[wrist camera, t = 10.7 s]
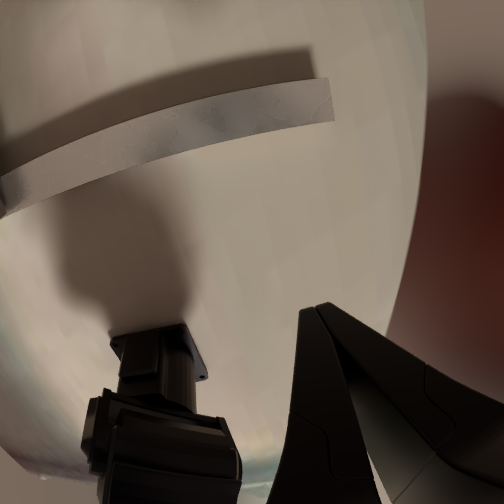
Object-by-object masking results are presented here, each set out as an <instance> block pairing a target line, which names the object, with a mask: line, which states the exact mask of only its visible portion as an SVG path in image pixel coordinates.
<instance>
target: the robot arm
mask: <svg viewBox="0 0 504 504" xmlns="http://www.w3.org/2000/svg"><path fill="white" fill-rule="evenodd" d="M178 330H182V331H178ZM116 343H117V344H116ZM110 346H111V348H112V349H113V351H114V352H115V354H116V355H117V357H118V358H119V360H120V361H121V363H120V369H119V374H118V375H119V382H118V388H117V393H115V392H112V391H111V390H109V389H106V388H104V389H103V392H102V396H98V397H96V398H90V401H89V405H88V410H87V415H86V420H85V425H84V430H83V436H82V442H81V450H82V451H83V452H84V454H85V455H86V457H87V464H89V475H91V476H95V477H98V486H97V497H98V500H99V503H100V504H237V498H238V494H239V491H240V488H241V484H242V481H241V480H242V461H241V457H240V455H239V452H238V450H237V448H236V445H235V443H234V440H233V438H232V436H231V433H230V431H229V428H228V426H227V423H226V421H225V418H222V417H211V416H205V415H200V414H197V408H196V383H195V382H198V381H203V380H206V379H208V372H207V370H206V368H205V366H204V364H203V362H202V360H201V357H200V355H199V353H198V351H197V349H196V347H195V345H194V342H193V340H192V338H191V336H190V334H189V331H188V329H187V327H186V326H185V325H183V324H176V325H172V326H167V327H162V328H158V329H153V330H148V331H143V332H138V333H133V334H128V335H122V336H117V337H113V338H111V340H110ZM289 411H290V413H289V417H288V426H287V432H286V438H285V443H284V448H283V452H282V456H281V459H280V463H279V467H278V470H277V473H276V476H275V479H274V482H273V485H272V488H271V491H270V494H269V497H268V500H267V503H266V504H382V503H381V500H380V497H379V494H378V491H377V488H376V484H375V481H374V476H373V473H372V469H371V465H370V461H369V458H368V454H369V456H370V458H371V460H372V462H373V465H374V467H375V469H376V471H377V473H378V475H379V477H380V479H381V482H382V483H383V486H384V488H385V490H386V492H387V494H388V496H389V498H390V501H391V503H393V504H504V404H503V403H501V402H499V401H497V400H495V399H493V398H490V397H488V396H486V395H484V394H482V393H480V392H478V391H476V390H473V389H471V388H469V387H467V386H465V385H463V384H461V383H460V382H458V381H455V380H454V379H452V378H450V377H449V376H447V375H445V374H443V373H442V372H440V371H438V370H437V369H435V368H434V367H432V366H431V365H429V364H426V363H425V362H424V361H422V360H421V359H419V358H417V357H416V356H414V355H413V354H411V353H410V352H408V351H407V350H405V349H403V348H402V347H400V346H399V345H397V344H395V343H394V342H392V341H391V340H389V339H388V338H386V337H384V336H383V335H381V334H380V333H378V332H376V331H375V330H373V329H372V328H370V327H368V326H367V325H365V324H364V323H362V322H361V321H359V320H357V319H356V318H354V317H353V316H351V315H349V314H348V313H346V312H345V311H343V310H342V309H340V308H338V307H337V306H335V305H334V304H332V303H330V302H326V303H323V304H319V305H316V306H315V308H314V307H308V308H305V309H301V310H300V311H299V318H298V330H297V342H296V353H295V363H294V374H293V383H292V393H291V402H290V410H289ZM367 452H368V454H367Z"/></svg>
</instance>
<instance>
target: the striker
mask: <svg viewBox="0 0 504 504" xmlns="http://www.w3.org/2000/svg"><path fill="white" fill-rule="evenodd" d="M6 214H7V213H6V211H5V208H4V206H3V203H2V201H1V198H0V219H1V218H2V217H3V216H5V215H6Z"/></svg>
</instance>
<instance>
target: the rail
mask: <svg viewBox="0 0 504 504" xmlns="http://www.w3.org/2000/svg"><path fill="white" fill-rule="evenodd" d="M328 121H335V118H334V111H333V104H332V97H331V91H330V85H329V79H328V78H316V79H307V80H299V81H291V82H284V83H278V84H272V85H266V86H260V87H254V88H249V89H244V90H239V91H234V92H229V93H224V94H220V95H215V96H211V97H207V98H203V99H199V100H195V101H191V102H187V103H183V104H180V105H176V106H172V107H169V108H165V109H162V110H159V111H155V112H152V113H149V114H146V115H143V116H140V117H137V118H134V119H131V120H128V121H125V122H122V123H119V124H116V125H113V126H111V127H108V128H105V129H103V130H100V131H97V132H95V133H92V134H90V135H87V136H85V137H82V138H80V139H77V140H75V141H73V142H70V143H68V144H66V145H63V146H61V147H59V148H57V149H54V150H52V151H50V152H48V153H46V154H44V155H41V156H39V157H37V158H35V159H33V160H31V161H29V162H27V163H25V164H23V165H21V166H19V167H17V168H15V169H14V170H12V171H10V172H8V173H6V174H4V175H2V176H1V177H0V198H1V201H2V203H3V206H4V208H5V211H6V213H7V214H6V215H5V216H3V217H2V218H4V217H6V216H8V215H10V214H12V213H14V212H17V211H19V210H21V209H23V208H26V207H28V206H30V205H32V204H35V203H37V202H39V201H42V200H44V199H46V198H49V197H51V196H54V195H56V194H59V193H61V192H64V191H66V190H69V189H71V188H74V187H77V186H79V185H82V184H85V183H87V182H90V181H93V180H95V179H98V178H101V177H104V176H107V175H110V174H113V173H115V172H118V171H121V170H124V169H128V168H131V167H134V166H137V165H140V164H143V163H146V162H150V161H153V160H156V159H160V158H163V157H167V156H170V155H174V154H177V153H181V152H184V151H188V150H192V149H196V148H199V147H203V146H207V145H211V144H215V143H219V142H224V141H228V140H232V139H237V138H241V137H246V136H250V135H255V134H260V133H265V132H270V131H275V130H280V129H286V128H291V127H297V126H303V125H309V124H315V123H322V122H328ZM2 218H1V219H2Z"/></svg>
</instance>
